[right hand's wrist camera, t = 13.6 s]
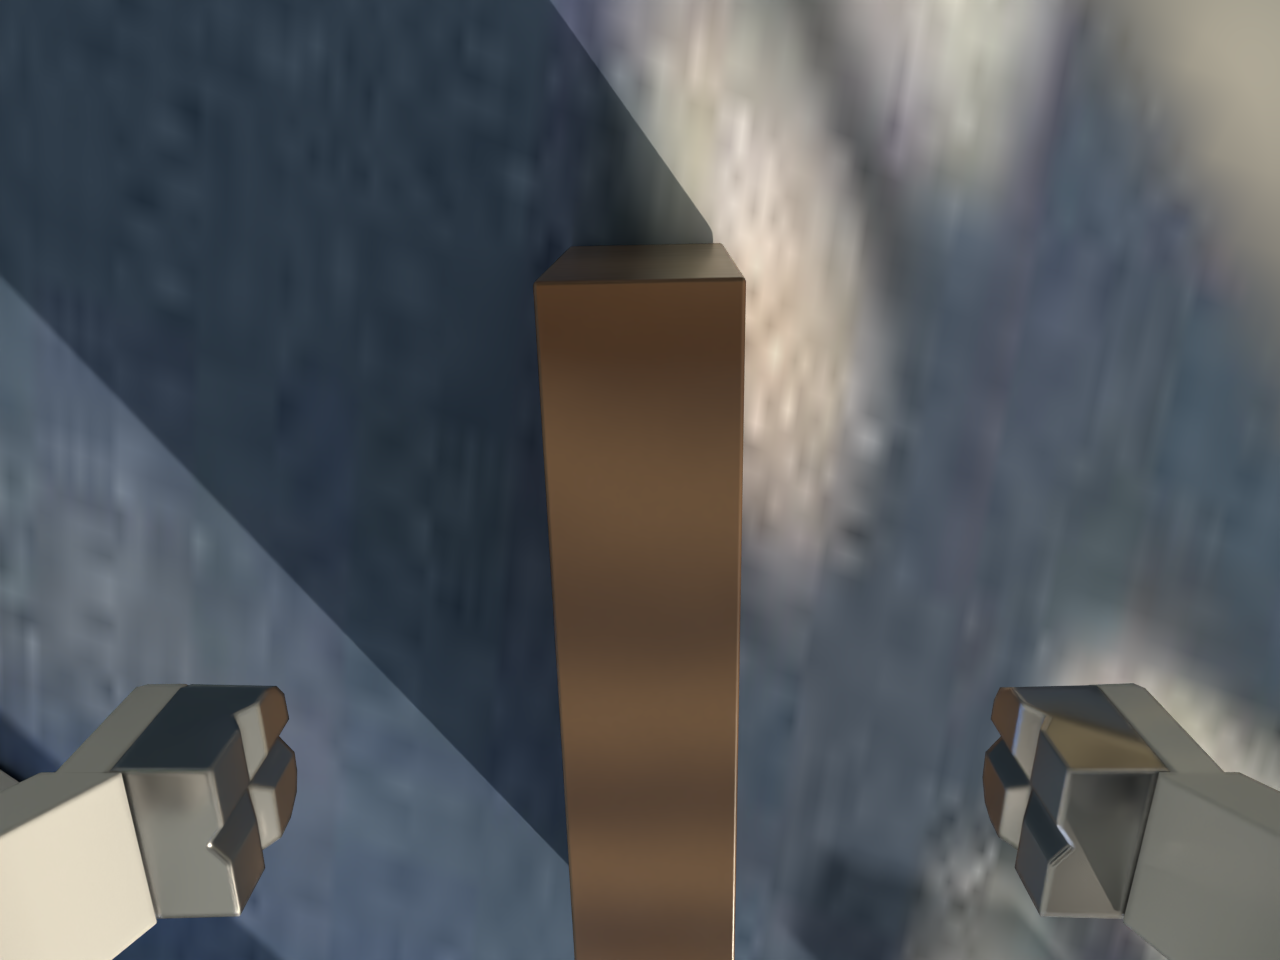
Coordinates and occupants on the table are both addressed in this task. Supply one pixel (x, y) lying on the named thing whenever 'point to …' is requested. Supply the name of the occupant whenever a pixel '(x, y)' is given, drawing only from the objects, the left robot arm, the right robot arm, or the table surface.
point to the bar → (646, 587)
